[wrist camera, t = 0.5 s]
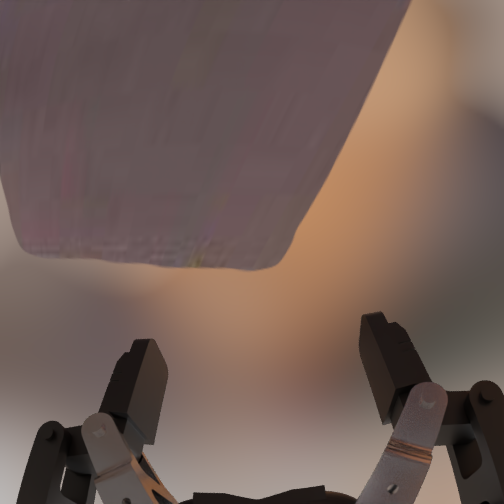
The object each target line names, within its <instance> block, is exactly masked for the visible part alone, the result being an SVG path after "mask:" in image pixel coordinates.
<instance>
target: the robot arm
mask: <svg viewBox="0 0 504 504" xmlns="http://www.w3.org/2000/svg"><path fill="white" fill-rule="evenodd" d="M359 352H360V357H361V360H362V363H363V365H364V369H365V372H366V375H367V378H368V381H369V384H370V387H371V389H372V393H373V396H374V399H375V402H376V405H377V408H378V411H379V414H380V418H381V421H382V424H383V425H385V424H389V423H392V426H393V429H394V431H393V433H392V436H391V438H390V440H389V442H388V444H387V446H386V448H385V450H384V452H383V454H382V456H381V458H380V460H379V462H378V464H377V466H376V468H375V470H374V471H373V473H372V475H371V477H370V479H369V480H368V482H367V484H366V486H365V488H364V489H363V491H362V493H361V495H360V496H359V498H358V499H355V498H354V497H351V496H349V495H346V494H342V493H338V492H332V491H325V487H324V485H322V486H316V487H309V488H301V489H293V490H289V491H286V492H283V493H280V494H277V495H273V496H270V497H266V498H263V499H257V500H256V499H249V498H244V497H239V496H234V495H230V494H225V493H195V492H194V493H193V499H190V500H186V501H183V502H181V503H178V502H177V501H176V499H175V498H174V497H173V496H172V495H171V494H170V493H169V491H168V490H167V489H166V488H165V487H164V485H163V483H162V482H161V481H160V479H159V477H158V476H157V474H156V472H155V471H154V469H153V468H152V466H151V464H150V463H149V461H148V459H147V458H146V456H145V454H144V453H143V451H142V450H143V445H144V444H149V445H154V440H155V436H156V430H157V426H158V421H159V416H160V412H161V407H162V402H163V398H164V393H165V389H166V384H167V380H168V368H167V365H166V362H165V360H164V358H163V356H162V354H161V352H160V350H159V348H158V345H157V343H156V341H155V340H154V339H136V340H134V342H133V344H132V347H131V349H130V352H125V353H124V354H123V355H122V356H121V358H120V359H119V360H118V361H117V363H116V366H115V369H114V371H113V374H112V376H111V379H110V382H109V384H108V387H107V390H106V392H105V395H104V398H103V401H102V404H101V406H100V409H99V412H98V413H95V414H92V415H91V416H89V417H88V418H87V419H86V420H85V421H84V423H83V425H81V426H76V427H70V428H64V427H63V426H62V425H61V424H60V423H59V422H57V421H49V422H46V423H44V424H43V425H42V426H41V427H40V429H39V430H38V432H37V435H36V438H35V441H34V444H33V447H32V450H31V453H30V456H29V459H28V463H27V466H26V469H25V473H24V476H23V480H22V483H21V487H20V491H19V494H18V498H17V503H16V504H94V500H95V493H96V489H97V491H98V493H99V495H100V497H101V500H102V502H103V504H413V503H414V501H415V499H416V497H417V495H418V493H419V491H420V488H421V486H422V484H423V482H424V479H425V477H426V474H427V472H428V469H429V467H430V464H431V461H432V455H431V454H432V450H433V447H434V446H441V445H446V447H447V451H448V454H449V457H450V460H451V464H452V468H453V472H454V475H455V479H456V483H457V487H458V491H459V495H460V500H461V504H504V395H503V393H502V391H501V389H500V388H499V387H498V385H496V384H495V383H493V382H491V381H487V380H486V381H479V382H477V383H476V384H474V385H473V386H472V388H471V390H470V391H446V390H444V389H443V387H441V386H440V385H438V384H436V383H433V382H432V381H431V379H430V377H429V375H428V373H427V371H426V369H425V367H424V365H423V363H422V361H421V359H420V357H419V355H418V353H417V351H416V350H415V347H414V345H413V343H412V342H411V339H410V338H409V336H408V334H407V332H406V330H405V329H404V328H403V327H401V326H400V325H399V324H398V323H396V322H393V323H388V322H387V320H386V318H385V316H384V314H383V313H382V312H381V311H380V312H374V313H369V314H364V315H362V317H361V326H360V337H359ZM64 467H66V471H65V476H64V480H63V484H62V489H61V491H60V484H61V480H62V475H63V471H64Z"/></svg>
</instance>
